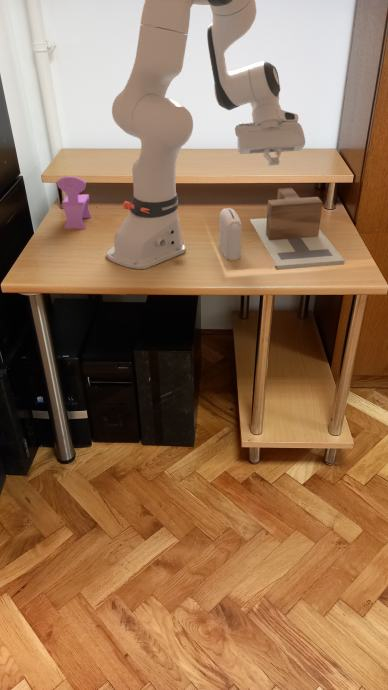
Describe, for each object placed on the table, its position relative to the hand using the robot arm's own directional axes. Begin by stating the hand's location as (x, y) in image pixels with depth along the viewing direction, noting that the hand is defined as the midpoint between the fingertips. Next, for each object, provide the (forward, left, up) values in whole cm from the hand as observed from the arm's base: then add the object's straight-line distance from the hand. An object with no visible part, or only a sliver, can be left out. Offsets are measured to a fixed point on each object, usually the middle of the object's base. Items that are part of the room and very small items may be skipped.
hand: (274, 164), depth 172 cm
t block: (-13, -13, -13) cm, 22 cm away
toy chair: (-42, +42, -14) cm, 61 cm away
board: (-17, -17, -14) cm, 28 cm away
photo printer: (-34, -7, -14) cm, 37 cm away
